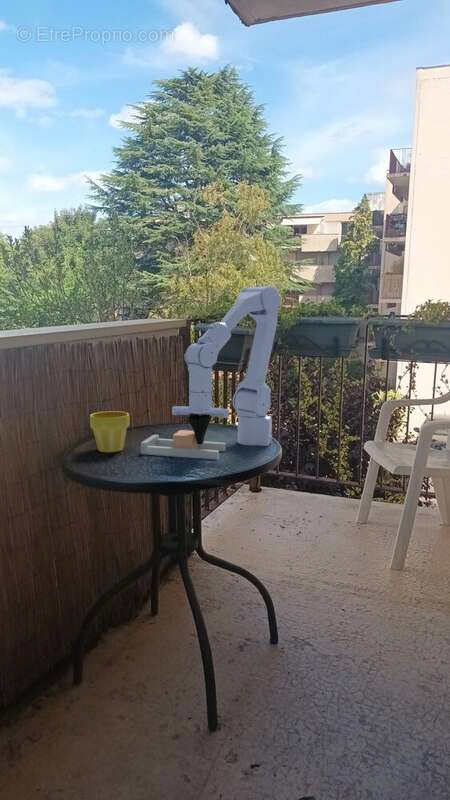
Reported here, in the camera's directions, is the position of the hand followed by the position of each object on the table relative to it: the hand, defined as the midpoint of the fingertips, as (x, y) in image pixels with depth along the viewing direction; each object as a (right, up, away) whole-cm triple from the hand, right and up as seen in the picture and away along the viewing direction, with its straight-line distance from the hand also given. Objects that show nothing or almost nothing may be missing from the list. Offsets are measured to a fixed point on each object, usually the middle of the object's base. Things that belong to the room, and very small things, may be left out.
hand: (200, 443), depth 137 cm
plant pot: (-25, -2, +7) cm, 26 cm away
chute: (-4, -3, +1) cm, 6 cm away
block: (-4, -2, +1) cm, 5 cm away
